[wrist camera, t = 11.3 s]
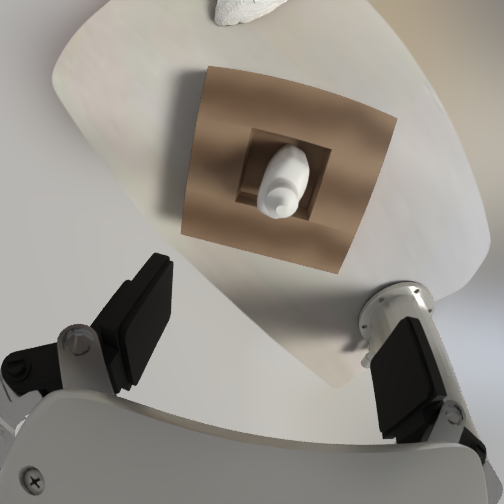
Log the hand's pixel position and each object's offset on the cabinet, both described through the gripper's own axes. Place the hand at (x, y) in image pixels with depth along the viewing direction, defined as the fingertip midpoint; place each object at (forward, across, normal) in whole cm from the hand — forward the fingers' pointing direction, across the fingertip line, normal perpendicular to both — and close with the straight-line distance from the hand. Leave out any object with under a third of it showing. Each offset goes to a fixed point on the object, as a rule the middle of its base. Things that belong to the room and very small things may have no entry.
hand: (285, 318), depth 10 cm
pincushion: (+23, +8, -20) cm, 31 cm away
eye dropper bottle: (+22, +1, -1) cm, 22 cm away
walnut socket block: (+23, +1, -1) cm, 23 cm away
